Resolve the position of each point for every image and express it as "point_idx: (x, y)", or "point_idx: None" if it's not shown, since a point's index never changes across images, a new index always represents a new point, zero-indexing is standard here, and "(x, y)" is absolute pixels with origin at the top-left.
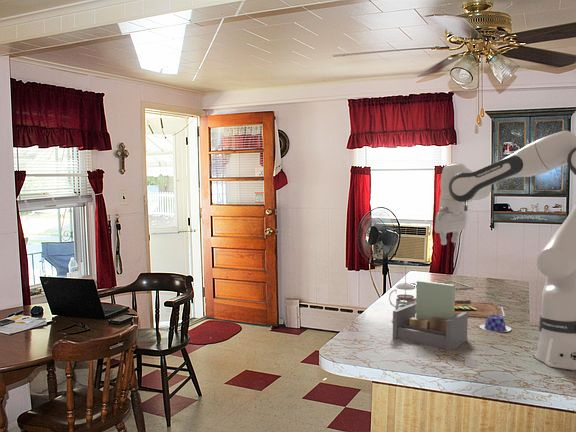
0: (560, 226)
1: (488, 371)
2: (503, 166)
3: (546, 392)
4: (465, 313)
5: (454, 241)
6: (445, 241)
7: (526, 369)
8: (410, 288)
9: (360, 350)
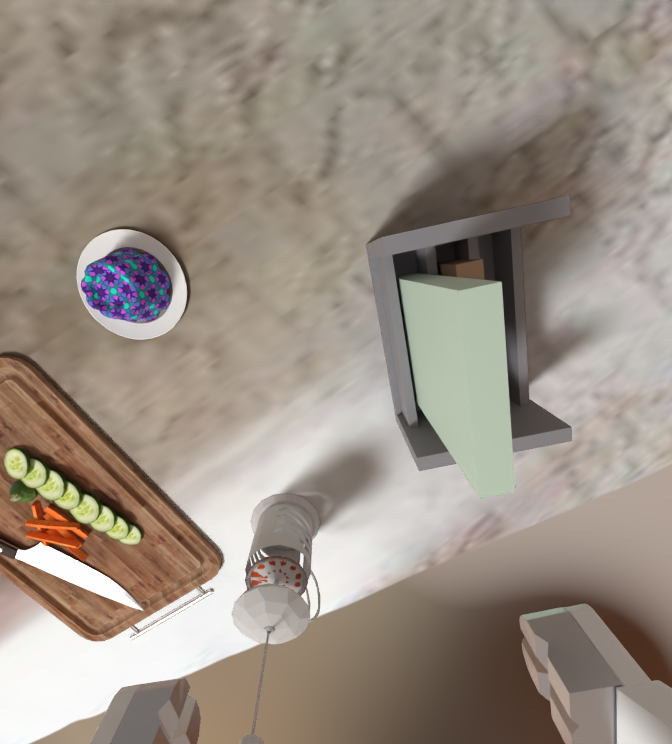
0: None
1: (572, 17)
2: None
3: None
4: (402, 234)
5: (180, 701)
6: (629, 656)
7: None
8: (281, 588)
9: (632, 400)
